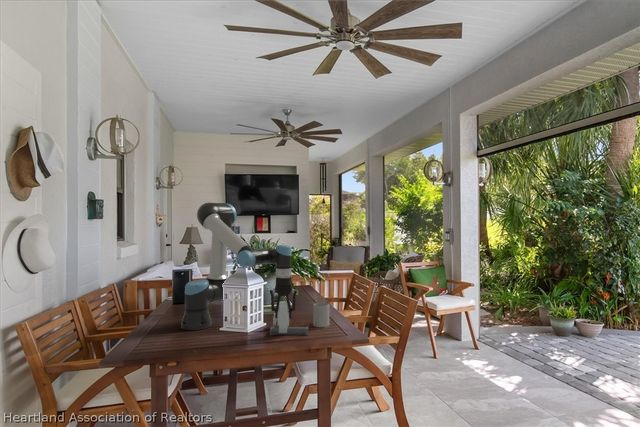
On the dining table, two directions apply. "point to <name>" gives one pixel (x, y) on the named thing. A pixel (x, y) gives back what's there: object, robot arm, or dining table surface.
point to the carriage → (283, 317)
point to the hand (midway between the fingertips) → (283, 324)
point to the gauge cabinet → (275, 321)
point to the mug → (321, 315)
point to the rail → (290, 331)
